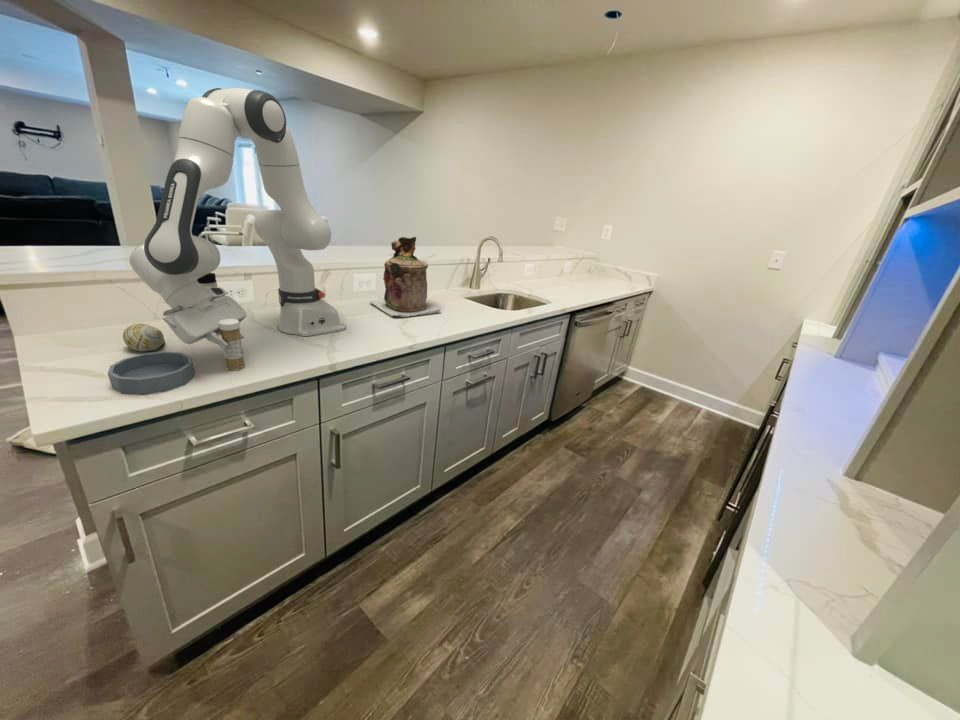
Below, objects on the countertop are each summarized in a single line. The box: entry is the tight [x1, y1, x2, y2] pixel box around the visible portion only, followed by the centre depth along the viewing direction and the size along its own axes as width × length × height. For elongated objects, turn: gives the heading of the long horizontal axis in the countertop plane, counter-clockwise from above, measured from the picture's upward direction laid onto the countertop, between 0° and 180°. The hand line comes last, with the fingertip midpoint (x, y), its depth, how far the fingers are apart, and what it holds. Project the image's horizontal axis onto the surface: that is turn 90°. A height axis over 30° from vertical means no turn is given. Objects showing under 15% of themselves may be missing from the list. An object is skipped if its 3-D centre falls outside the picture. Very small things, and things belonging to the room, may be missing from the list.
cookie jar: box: [369, 236, 442, 318], centre depth 166 cm, size 25×25×32 cm
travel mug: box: [197, 272, 221, 335], centre depth 121 cm, size 6×7×20 cm
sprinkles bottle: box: [219, 319, 246, 371], centre depth 102 cm, size 5×5×13 cm
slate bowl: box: [107, 351, 196, 396], centre depth 94 cm, size 16×16×4 cm
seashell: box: [122, 323, 166, 353], centre depth 109 cm, size 10×10×10 cm
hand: (234, 342), depth 102 cm, fingers closed on sprinkles bottle, 4 cm apart
